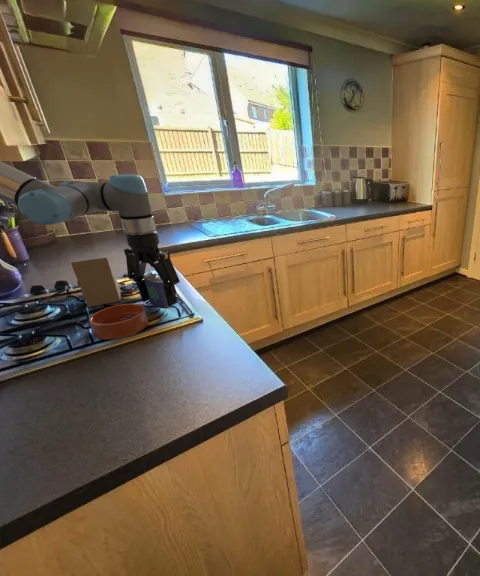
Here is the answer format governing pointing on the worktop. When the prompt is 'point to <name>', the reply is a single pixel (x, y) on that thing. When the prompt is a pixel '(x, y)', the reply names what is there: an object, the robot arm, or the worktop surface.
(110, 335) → the bowl
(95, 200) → the robot arm
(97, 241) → the worktop surface
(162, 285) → the flask
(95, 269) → the sandwich container
